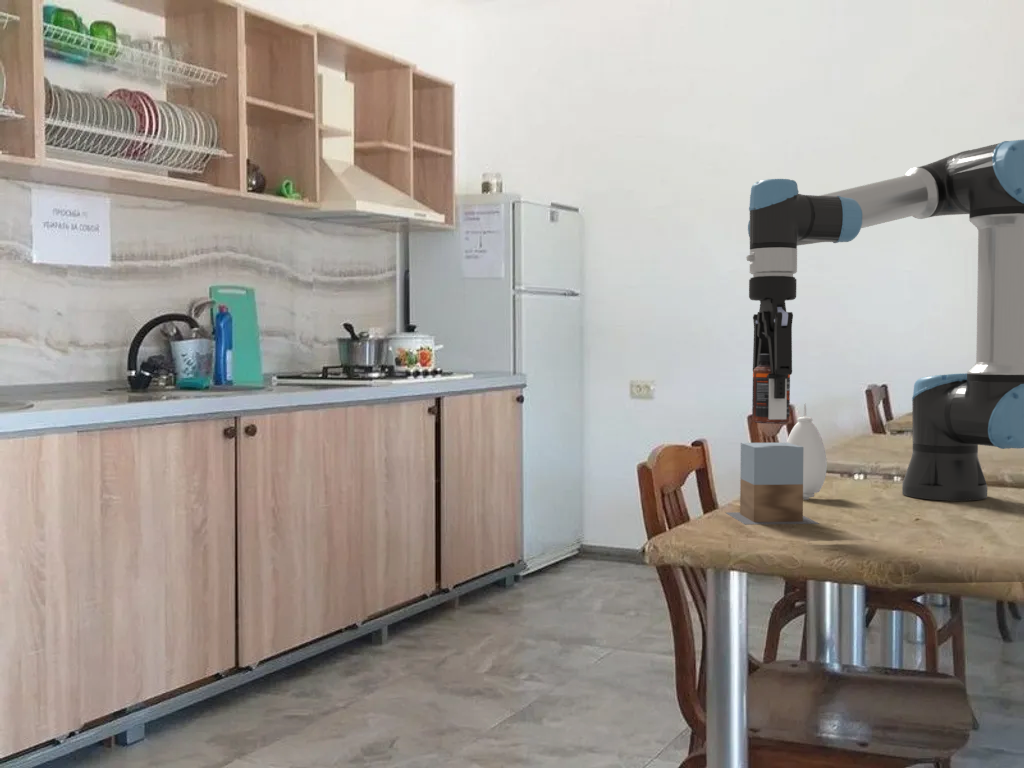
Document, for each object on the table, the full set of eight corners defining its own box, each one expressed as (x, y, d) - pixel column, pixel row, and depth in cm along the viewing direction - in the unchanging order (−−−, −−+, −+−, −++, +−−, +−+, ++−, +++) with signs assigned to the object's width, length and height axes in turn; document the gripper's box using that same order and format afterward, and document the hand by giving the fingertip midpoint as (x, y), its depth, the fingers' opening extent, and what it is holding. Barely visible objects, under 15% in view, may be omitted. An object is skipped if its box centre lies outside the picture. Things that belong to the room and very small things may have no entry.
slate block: (787, 478, 182) (787, 442, 182) (803, 484, 174) (803, 447, 174) (740, 478, 182) (740, 442, 182) (754, 484, 174) (754, 447, 174)
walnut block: (787, 513, 182) (787, 478, 182) (802, 521, 174) (803, 484, 174) (740, 514, 182) (740, 478, 182) (753, 522, 174) (754, 484, 174)
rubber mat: (794, 515, 185) (794, 511, 185) (819, 527, 173) (819, 523, 173) (725, 516, 184) (725, 512, 184) (744, 528, 172) (744, 524, 172)
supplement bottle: (790, 424, 174) (791, 354, 174) (752, 423, 175) (753, 353, 175) (788, 421, 180) (789, 353, 180) (751, 421, 181) (752, 353, 181)
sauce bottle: (810, 503, 199) (811, 405, 198) (774, 498, 204) (775, 403, 204) (834, 499, 204) (835, 403, 203) (798, 494, 210) (799, 401, 209)
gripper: (734, 279, 186) (733, 414, 187) (767, 271, 167) (765, 421, 168) (777, 279, 186) (776, 414, 187) (815, 272, 168) (813, 421, 168)
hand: (771, 417), depth 178 cm, fingers closed on supplement bottle, 6 cm apart
